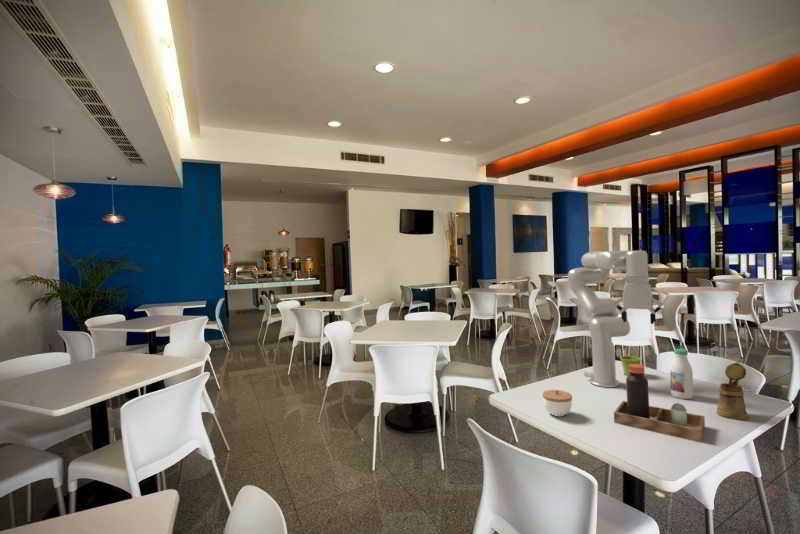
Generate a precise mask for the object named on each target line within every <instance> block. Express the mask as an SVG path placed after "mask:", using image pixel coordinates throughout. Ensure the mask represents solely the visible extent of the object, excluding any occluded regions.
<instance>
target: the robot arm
mask: <svg viewBox="0 0 800 534" xmlns="http://www.w3.org/2000/svg"><path fill="white" fill-rule="evenodd" d="M580 261H581V264H582V266H584V267H576V268H575V267H574V268H572V269H571V270H569V272H568V273H567V283H568V286H569V288H570V290H571V291H572V293H573V294H574V296H576V298H577V299H578V302H579V304H580V306H581V308H582V310H583V312H584V313H585V315H586V317H587V318H589V319H591V320H590V321H589V323H588V326H589V327H588V328H589V332H590V337H591V345H592V347H591V348H592V349H591V350H592V371H591V372H590V371H589V372H588V371H584V372H583V376H584V377H585V378H589V383H590V384H591V383H592V384H591V385H593V384H594V386H596V385H597V387H600V386H601V388H617V387H619V386H620V385H621V383H620V381H619V380H617V377H616V376H617V375H616V349H615V344H614V343H613V342H612V341H611V339H610V338H620V337H626V336H628V335H629V334H630V332H631V325H630V322H629V320H628V316H627V315H628V314H627V310H628V309H629V310H630V309H631V310H648V311H649V312H650V315H649V317H650V318H649V319H650V324H651V325H654V324H655V323H656V318H657V317H656V313H658V312H660V310H662V307H663V306H664V302H663V301H660V300H657V299H655V298H654V297H653V291H652V287H651V284H650V283H649V271H648V270H649V268H648V267H649V264H648V261H649V260H648V253H647V251H646V250H629V249H628V250H609V251H608V250H601V251H600V250H598V251H589V252H586V253H584V254H583V255H582V257H581V258H580ZM613 269H614V270H615V269H625V273H626V275H625V277H622V282H625V284H624V285H623V291H622V298H619V299H617V300H614V299H612V298H599V297H598V296H597V294H596V293H595V291H594V290H593V289H592V288H591V287H590V286H588V285H590V284H601V283H603V282H604V281H605V280H606V278H607V277H608V274H609V273H610V271H611V270H613ZM621 302H622V306H621V305H620V303H621ZM654 304H657V307H656V308H654V307H653V305H654ZM654 322H655V323H654Z"/></svg>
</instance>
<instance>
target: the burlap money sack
mask: <svg viewBox="0 0 800 534" xmlns="http://www.w3.org/2000/svg"><path fill="white" fill-rule="evenodd" d="M746 375H747V370H746V368H745V367H744V366H743V365H741V364H740V363H738V362H735V363H730V364H729V365H727V366H726V368H725V376H726V377H727V378H728V379H729V380H728V383H726V382H725V383H723V382H722V383H721V384H720V387H719V388H718V389H719V390H718V392H719V395H718V396H719V397H718V403H717V407H716V413H717V415H719V416H721V417H722V418H726V419H730V420H734V421H735V420H736V421H746V420H748V419H749V414H748V412H747V409H746V404H745V399H744V397H745V396H744V395H745V394H744V390H743V388H742V386H740V385H738V384H739V381H740V380H742V379H744V378H745V377H746Z"/></svg>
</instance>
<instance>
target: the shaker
mask: <svg viewBox="0 0 800 534" xmlns="http://www.w3.org/2000/svg"><path fill="white" fill-rule="evenodd" d="M670 410H671V423H672V424H676V425H681V426H686V427H687V413H688V410H687V409H686V406H684V405H683V404H681V403H680V402H679V403H678V402H677V403H673V404H672V406H671V407H670Z"/></svg>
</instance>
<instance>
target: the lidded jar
mask: <svg viewBox="0 0 800 534" xmlns="http://www.w3.org/2000/svg"><path fill="white" fill-rule="evenodd" d="M542 401H543V406H544V409H545V410H546V411H547V412H548V414H549V413H550V414H552V415H556V416H564V415H566V416H567V414H569V412H570V411H571V409H572V405H573V396H572V394H571V393H570V392H568V391H565V390H559V389H548V390H544V391H543V392H542ZM550 414H549V415H550ZM552 415H551V416H552ZM564 417H565V416H564Z"/></svg>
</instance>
